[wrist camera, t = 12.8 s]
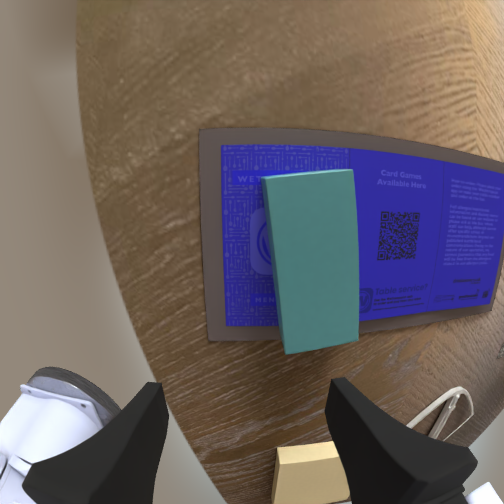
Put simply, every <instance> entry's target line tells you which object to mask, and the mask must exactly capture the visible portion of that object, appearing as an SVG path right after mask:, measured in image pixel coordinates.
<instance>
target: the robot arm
mask: <svg viewBox="0 0 504 504" xmlns="http://www.w3.org/2000/svg"><path fill="white" fill-rule="evenodd" d="M20 389H21V391H22V395H21V396H20V397H19V398H18V400H17V401H16V402H15V404H14V405H13V406H12V408H11V409H10V410H9V412H8V413H7V414H6V416H5V417H4V418H3V420H2V421H1V423H0V504H152V502H153V492H154V484H155V478H156V473H157V469H158V465H159V461H160V457H161V453H162V450H163V446H164V443H165V439H166V435H167V428H168V420H169V413H168V409H167V405H166V401H165V396H164V392H163V388H162V383H155V382H147V383H146V384H145V386H144V387H143V388H142V389H141V390H140V391H139V392H138V393H137V394H136V396H135V397H134V398H133V399H132V400H131V401H130V402H129V403H128V404H127V405H126V406H125V407H124V409H123V410H122V411H121V412H120V413H119V414H118V415H116V416H115V417H114V418H113V419H112V420H111V421H110V422H109V423H108V424H107V425H106V426H104V427H103V425H102V423H101V420H100V418H99V416H98V414H97V411H96V409H95V407H94V405H93V403H91V402H90V401H86V400H81V399H76V398H72V397H67V396H63V395H59V394H55V393H51V392H47V391H44V390H40V389H37V388H33V387H30V386H26V385H23V384H22V385H21V386H20ZM325 415H326V420H327V424H328V428H329V431H330V434H331V437H332V439H333V442H334V445H335V447H336V450H337V452H338V455H339V458H340V460H341V463H342V465H343V468H344V471H345V474H346V478H347V483H348V487H349V491H350V496H351V501H352V504H503V503H502V501H501V500H500V498H499V497H498V495H497V493H496V492H495V490H494V489H493V487H492V486H491V484H490V483H489V482H487V483H485V484H484V485H482V486H481V487H479V488H477V489H476V490H474V491H472V492H471V493H469V494H468V495H467V496H465V497H464V495H463V494H462V492H464V491H465V488H464V487H463V485H462V484H463V483H464V482H465V480H466V479H467V478H468V477H469V476H470V475H471V474H472V472H473V471H474V470H475V468H476V466H477V463H478V461H477V459H476V458H475V457H474V455H473V454H472V452H471V451H470V449H469V448H468V447H463V446H458V445H454V444H449V443H446V442H443V441H439V440H436V439H434V438H431V437H428V436H426V435H424V434H421V433H419V432H417V431H415V430H413V429H411V428H409V427H407V426H406V425H404V424H402V423H400V422H399V421H397V420H396V419H394V418H393V417H391V416H390V415H388V414H387V413H386V412H384V411H383V410H381V409H380V408H379V407H378V406H376V405H375V404H374V403H373V402H371V401H370V400H369V399H368V398H367V397H366V396H364V395H363V394H362V393H361V392H360V391H359V390H358V389H357V388H356V387H355V386H354V385H352V384H351V383H350V382H349V381H348V380H347V379H346V378H345V377H343V378H335V379H331V383H330V388H329V393H328V398H327V403H326V407H325Z"/></svg>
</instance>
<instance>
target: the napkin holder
mask: <svg viewBox="0 0 504 504" xmlns="http://www.w3.org/2000/svg"><path fill="white" fill-rule="evenodd" d="M502 357H504V344H503V346H502V348H501V350H500V352H499V354H498V357H497V358H502Z"/></svg>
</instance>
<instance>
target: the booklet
mask: <svg viewBox="0 0 504 504" xmlns="http://www.w3.org/2000/svg"><path fill="white" fill-rule="evenodd" d="M236 145H237V146H245V147H239V148H233V149H232V150H233V151H246V152H245V153H239V154H233V155H232V156H233V157H248V158H245V159H239V160H233V161H232V162H233V163H248V164H244V165H238V166H233V167H232V168H233V169H247V170H244V171H238V172H233V173H232V174H233V175H245V176H244V177H238V178H233V179H232V180H233V181H242V182H244V183H239V184H233V185H232V186H233V187H239V188H244V189H239V190H233V191H232V192H233V193H236V194H244V195H239V196H233V197H232V198H233V199H235V200H244V201H239V202H233V203H232V204H233V205H235V206H244V207H238V208H233V209H232V210H233V211H237V212H244V213H238V214H232V215H231V216H232V217H240V218H244V219H238V220H232V221H231V222H232V223H245V224H243V225H237V226H231V227H230V228H231V229H248V230H242V231H236V232H231V233H230V234H231V235H247V236H241V237H235V238H229V239H228V240H229V241H245V242H240V243H234V244H228V245H227V246H228V247H244V248H238V249H232V250H231V251H232V252H246V253H242V254H236V255H230V256H229V257H230V258H245V259H239V260H234V261H233V263H234V264H243V265H237V266H231V267H230V268H231V269H245V270H239V271H233V272H232V273H233V274H237V275H242V276H236V277H230V278H229V279H230V280H244V281H238V282H232V283H231V284H232V285H245V286H239V287H233V288H232V289H233V290H242V291H240V292H234V293H233V294H234V295H236V296H241V297H235V298H233V299H232V300H233V301H241V302H235V303H234V304H233V305H234V306H241V307H235V308H234V309H235V310H238V311H240V312H234V313H233V314H234V315H245V316H239V317H232V318H231V319H232V320H243V321H237V322H230V323H229V324H230V325H246V326H247V327H279V323H278V314H277V305H276V297H275V288H274V279H273V271H272V263H271V255H270V246H269V238H268V230H267V223H266V215H265V207H264V199H263V192H262V184H261V177H265V176H273V175H281V174H290V173H300V172H310V171H321V170H332V169H352V170H353V174H354V185H355V196H356V209H357V225H358V247H359V322H366V321H374V320H381V319H389V318H396V317H403V316H409V315H415V314H422V313H428V312H438V311H447V310H456V309H464V308H472V307H479V306H486V305H490V304H491V301H492V297H493V293H494V289H495V285H496V280H497V276H498V271H499V266H500V261H501V255H502V249H503V242H504V173H502V172H498V171H494V170H490V169H486V168H481V167H477V166H472V165H467V164H462V163H457V162H452V161H442V160H441V159H435V158H430V157H424V156H418V155H412V154H405V153H398V152H391V151H383V150H375V149H366V148H356V147H345V146H330V145H313V144H284V143H237V144H236Z"/></svg>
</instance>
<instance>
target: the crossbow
mask: <svg viewBox="0 0 504 504" xmlns="http://www.w3.org/2000/svg"><path fill="white" fill-rule="evenodd" d="M461 393H462V394H465V396H466V398H467V401H468V405H469V412H470V413H471V414H472V415H473V414H474V412H473V404H472V400H471V397H470V395H469V393H468V392H467V391H466V390H465V389H464V388H462V387H461V386H459V387H455V388H452V389H450V390H449V391H448V392H446V393H444V394H443V395H442V396H441V397H439V398H438V399H437V400H436V401H434V402H433V403H432V404H431V405H429V406H428V407H427V408H426V409H425V410H424V411H422V412H421V413H420V414H419V415H418V416H416V417H415V418H414V419H413V420H412V421H411V422H410V423H408V424H407V425H406V426H407V427H409V428H413V427H414V426H415V425H416V424H417V423H418V422H420V421H421V420H422V419H423V418H424V417H426V416H427V415H428V414H429V413H430V412H432V411H433V410H434V409H435V408H437V407H438V406H439V405H440V404H442V403H443V402H444V401H445V400H447V399H448V400H447V402H446V404H445V406H444V408H443V410H442V412H441V414H440V416H439V418H438V419H437V421H436V423H435V425H434V427H433V428H432V430H431V432H430V434H429V435H428V437H431V438H434V439H436V438H437V436H438V435H439V433H440V431H441V430H442V428H443V426H444V424H445V423H446V421H447V419H448V417H449V415H450V414H451V412H452V410H454V409H455V407H456V406H455V404H456V402H457V400H458V398H459V397H460V394H461ZM472 415H471V416H472ZM471 416H470V417H471ZM470 417H469V418H470ZM469 418H468V419H469ZM468 419H467V420H468ZM467 420H466V421H467ZM466 421H465V422H466ZM465 422H464V423H465ZM464 423H463V424H464ZM463 424H462V425H463ZM458 428H459V427H458ZM458 428H457V429H458ZM457 429H456V430H457ZM456 430H455V431H456ZM455 431H454V432H455ZM454 432H453V433H454ZM450 435H451V434H450ZM450 435H449V436H450ZM449 436H448V437H449ZM448 437H447V438H448ZM447 438H446V439H447ZM444 440H445V439H444ZM444 440H443V441H444Z"/></svg>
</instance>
